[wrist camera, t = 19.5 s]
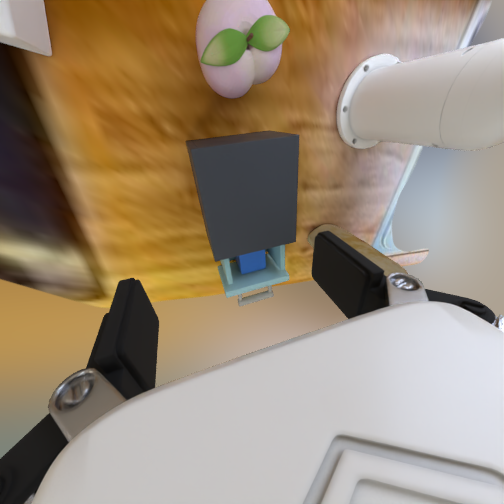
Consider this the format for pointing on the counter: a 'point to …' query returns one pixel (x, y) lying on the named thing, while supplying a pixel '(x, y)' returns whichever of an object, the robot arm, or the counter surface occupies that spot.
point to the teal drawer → (254, 276)
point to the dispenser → (247, 190)
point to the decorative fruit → (238, 44)
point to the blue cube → (251, 261)
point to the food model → (359, 248)
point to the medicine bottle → (25, 25)
